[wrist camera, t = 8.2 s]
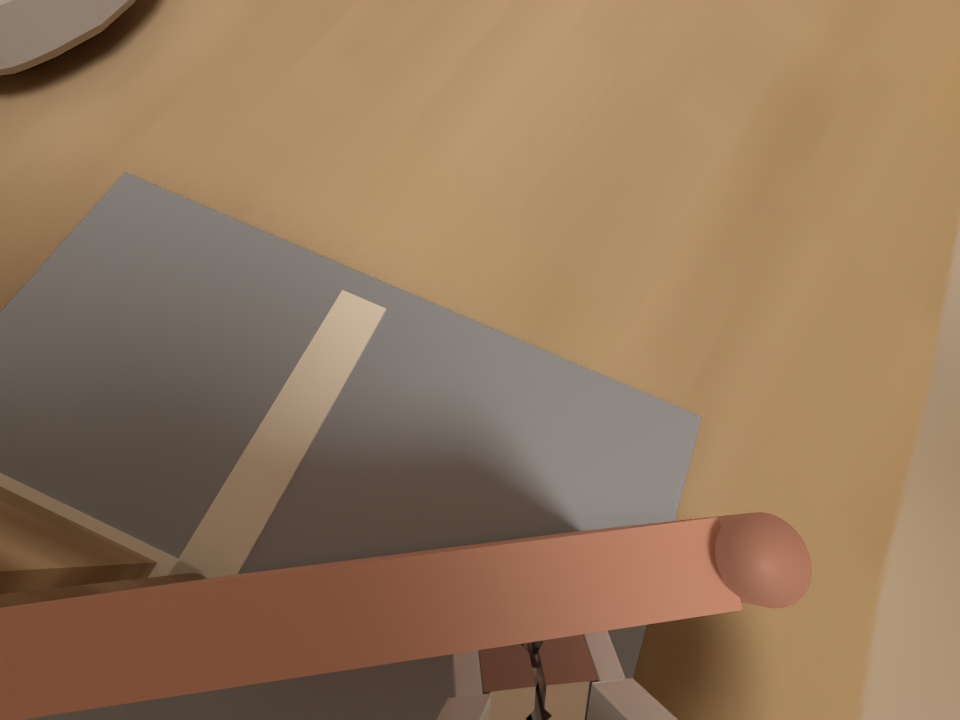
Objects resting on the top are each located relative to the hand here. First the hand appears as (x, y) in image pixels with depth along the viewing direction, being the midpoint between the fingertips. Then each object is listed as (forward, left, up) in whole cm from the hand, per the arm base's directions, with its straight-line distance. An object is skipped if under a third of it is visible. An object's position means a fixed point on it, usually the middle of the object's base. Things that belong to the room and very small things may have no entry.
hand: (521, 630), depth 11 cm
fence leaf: (0, +3, -5) cm, 5 cm away
